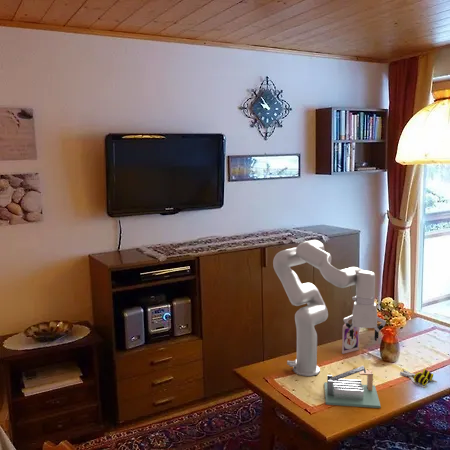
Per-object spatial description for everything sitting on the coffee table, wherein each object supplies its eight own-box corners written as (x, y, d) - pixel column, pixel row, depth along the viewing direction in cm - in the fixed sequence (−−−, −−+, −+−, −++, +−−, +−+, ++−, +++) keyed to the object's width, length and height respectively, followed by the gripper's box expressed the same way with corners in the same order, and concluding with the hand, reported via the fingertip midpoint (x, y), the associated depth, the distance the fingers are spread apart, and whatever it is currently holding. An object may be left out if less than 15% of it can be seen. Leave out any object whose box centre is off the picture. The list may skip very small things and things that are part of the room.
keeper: (359, 389, 219) (359, 373, 218) (358, 385, 223) (358, 369, 222) (372, 390, 218) (372, 374, 217) (371, 385, 222) (371, 370, 221)
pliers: (425, 385, 222) (395, 373, 234) (425, 389, 222) (395, 376, 234) (437, 379, 227) (408, 367, 239) (437, 382, 228) (408, 371, 240)
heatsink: (327, 397, 213) (328, 383, 212) (327, 386, 222) (327, 372, 221) (363, 399, 210) (363, 385, 209) (360, 388, 220) (361, 374, 219)
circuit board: (325, 404, 209) (325, 402, 209) (324, 384, 227) (324, 382, 226) (380, 408, 206) (380, 405, 205) (374, 387, 223) (374, 385, 223)
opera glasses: (423, 388, 223) (425, 378, 222) (412, 382, 227) (414, 372, 226) (433, 381, 230) (435, 371, 228) (422, 375, 234) (424, 366, 232)
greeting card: (343, 354, 259) (343, 326, 256) (333, 349, 265) (334, 322, 263) (360, 350, 264) (360, 322, 262) (350, 345, 270) (351, 318, 268)
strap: (330, 385, 215) (328, 381, 215) (330, 382, 218) (328, 377, 218) (366, 372, 212) (363, 368, 212) (365, 369, 215) (363, 365, 215)
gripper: (344, 301, 209) (343, 340, 212) (387, 304, 206) (385, 343, 208) (343, 296, 217) (342, 334, 219) (385, 298, 213) (384, 337, 216)
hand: (363, 338), depth 214 cm, fingers open, 9 cm apart
